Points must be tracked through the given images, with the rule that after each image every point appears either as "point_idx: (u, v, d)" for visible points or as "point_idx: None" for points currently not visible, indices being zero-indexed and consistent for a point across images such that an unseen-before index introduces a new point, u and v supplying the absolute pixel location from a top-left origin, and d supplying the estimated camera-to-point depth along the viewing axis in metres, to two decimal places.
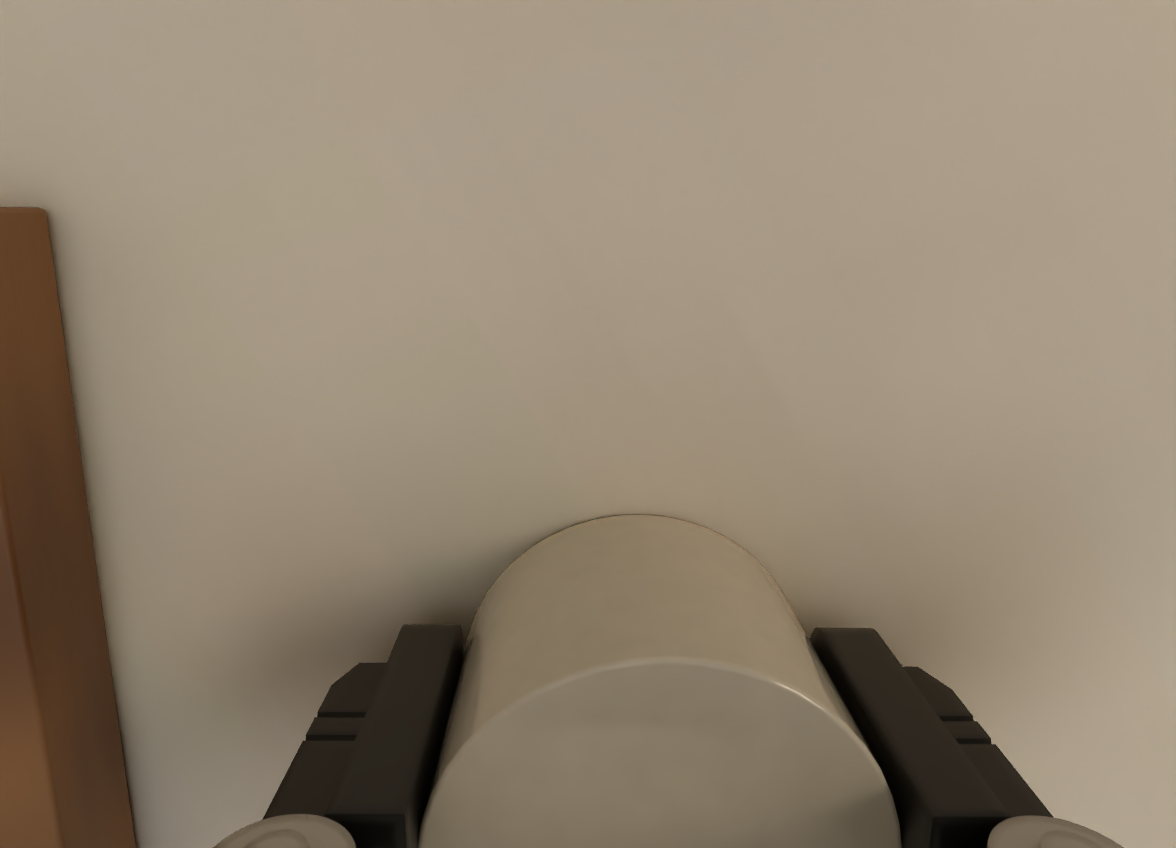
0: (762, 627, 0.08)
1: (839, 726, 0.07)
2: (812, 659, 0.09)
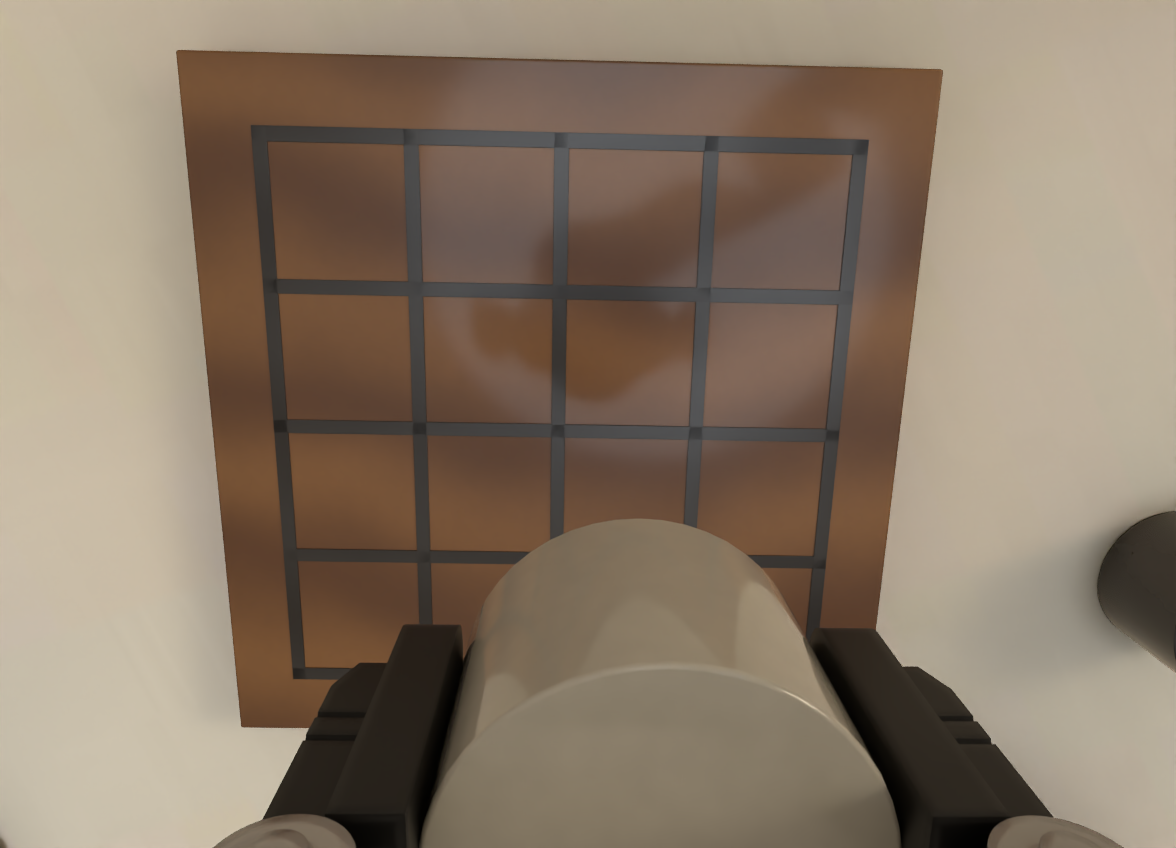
0: (763, 632, 0.08)
1: (840, 729, 0.07)
2: (812, 663, 0.09)
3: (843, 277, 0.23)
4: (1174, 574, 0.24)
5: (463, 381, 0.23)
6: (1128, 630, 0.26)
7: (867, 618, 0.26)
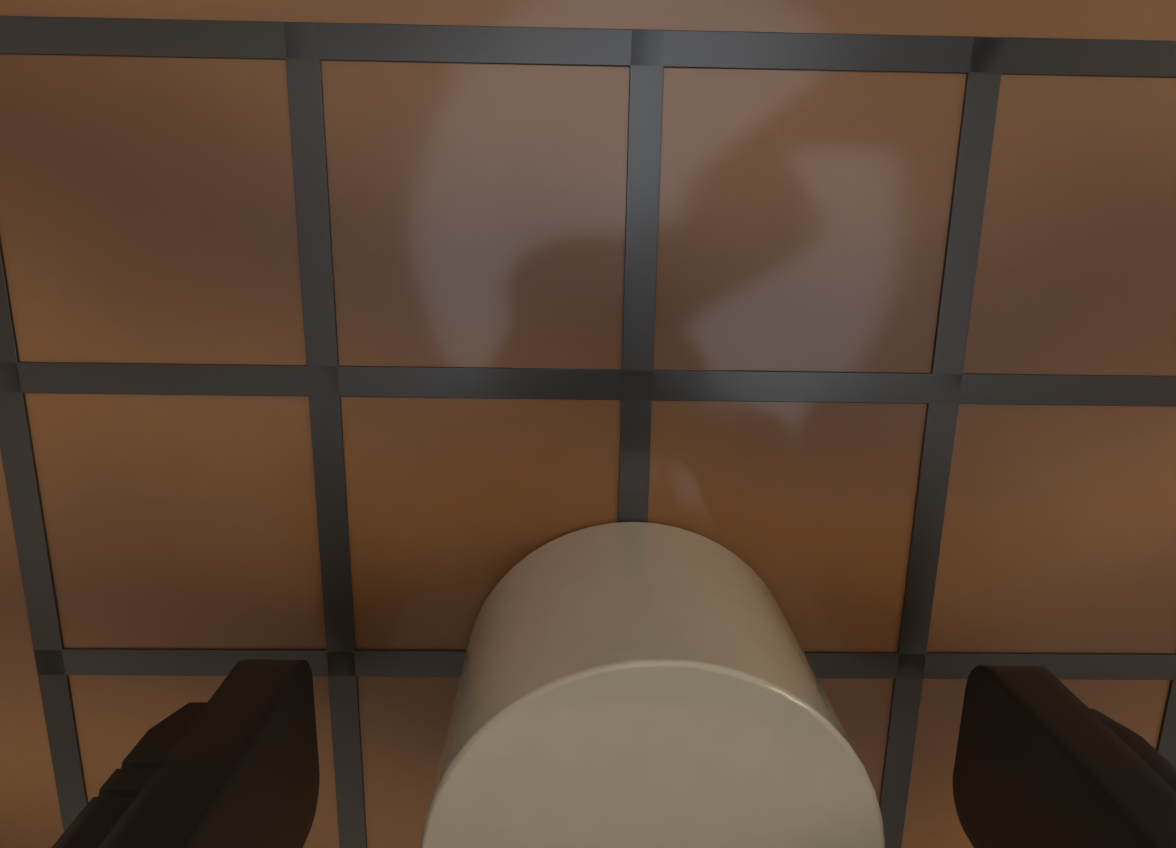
0: (751, 630, 0.09)
1: (824, 723, 0.08)
2: (799, 661, 0.09)
3: None
4: None
5: (430, 569, 0.11)
6: None
7: None
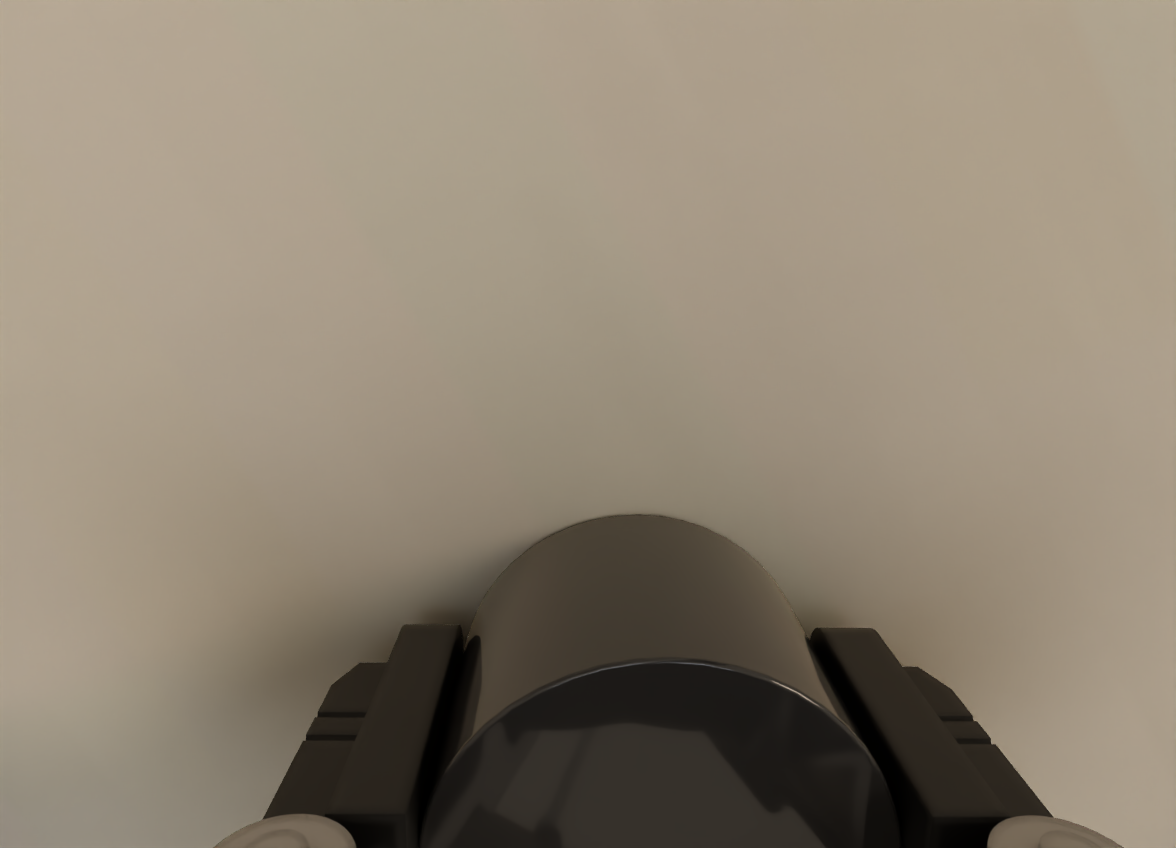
0: None
1: None
2: None
3: None
4: (465, 699, 0.08)
5: None
6: None
7: None
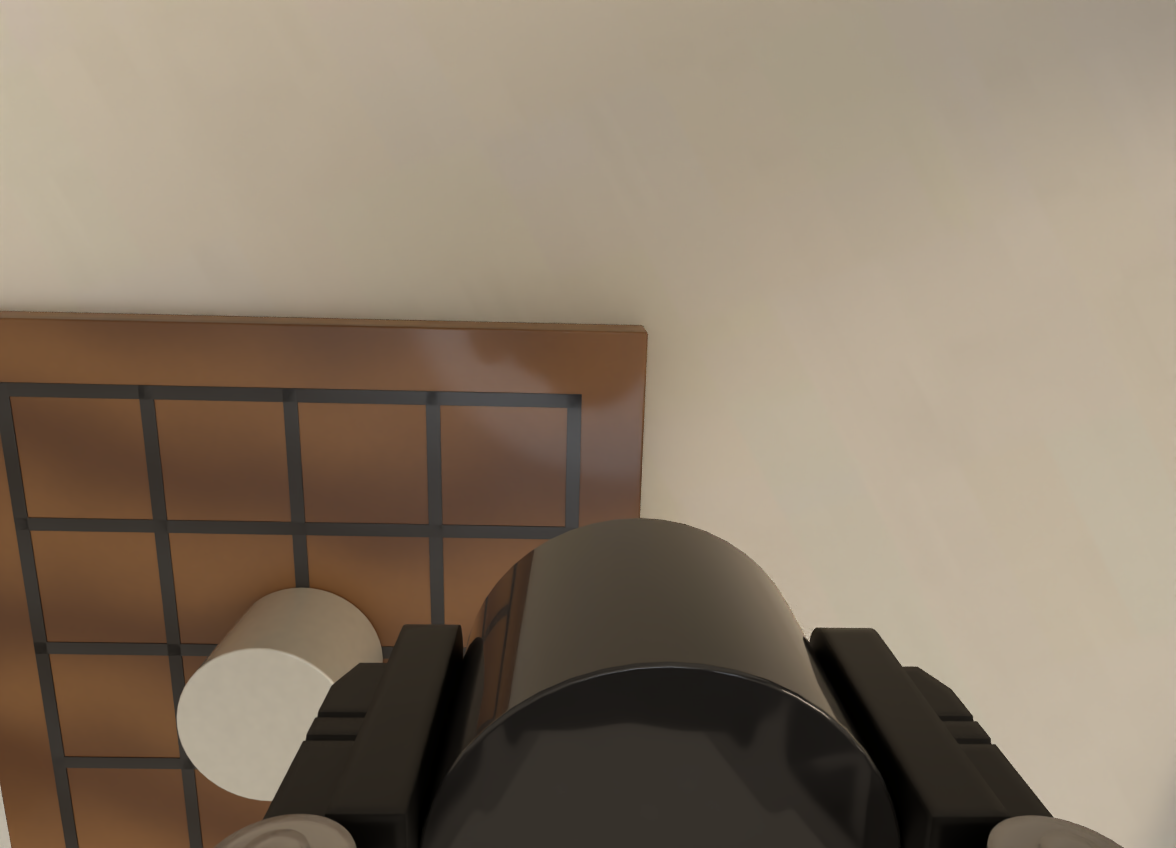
0: (313, 637, 0.22)
1: (320, 672, 0.21)
2: (336, 649, 0.22)
3: (568, 514, 0.24)
4: (467, 703, 0.08)
5: (213, 607, 0.25)
6: None
7: None
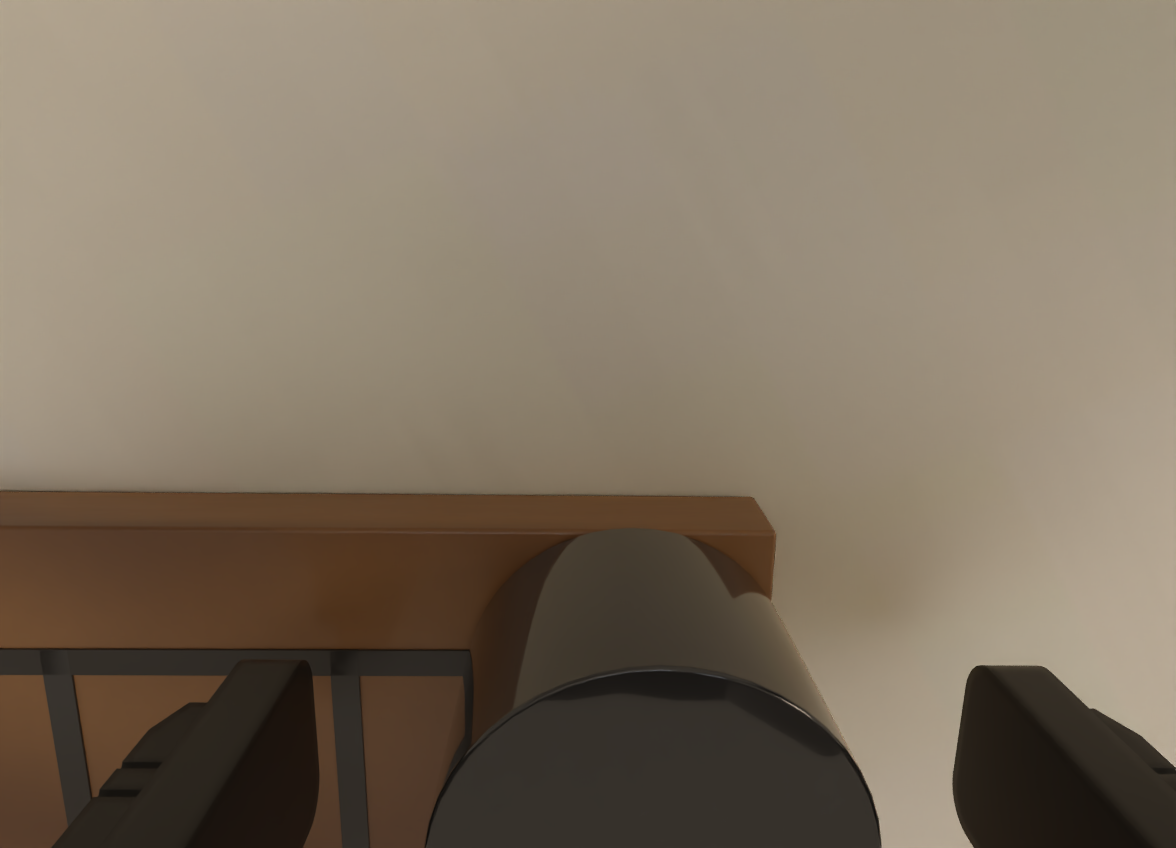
0: None
1: None
2: None
3: None
4: (469, 707, 0.09)
5: None
6: None
7: None
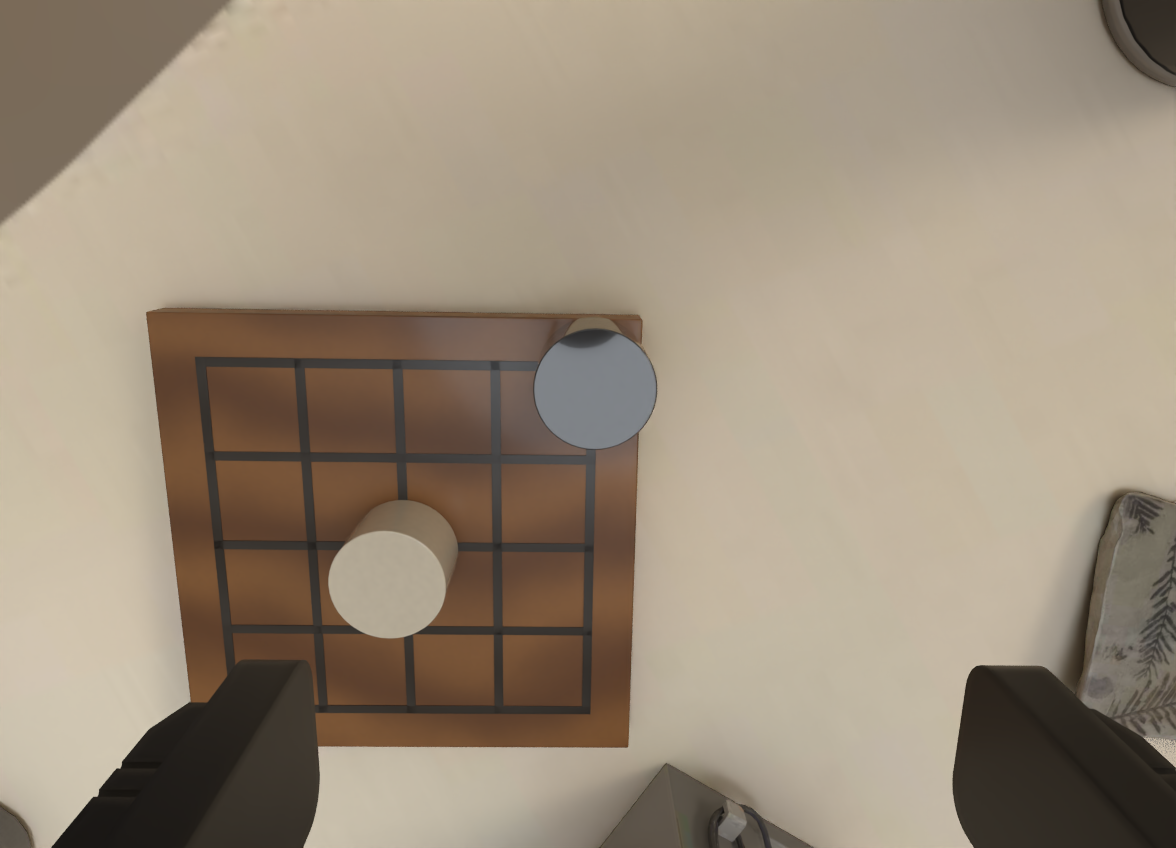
0: (417, 527, 0.33)
1: (425, 546, 0.32)
2: (432, 536, 0.33)
3: None
4: (544, 351, 0.31)
5: (340, 515, 0.35)
6: None
7: (623, 668, 0.37)
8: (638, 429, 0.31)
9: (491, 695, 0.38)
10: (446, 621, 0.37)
